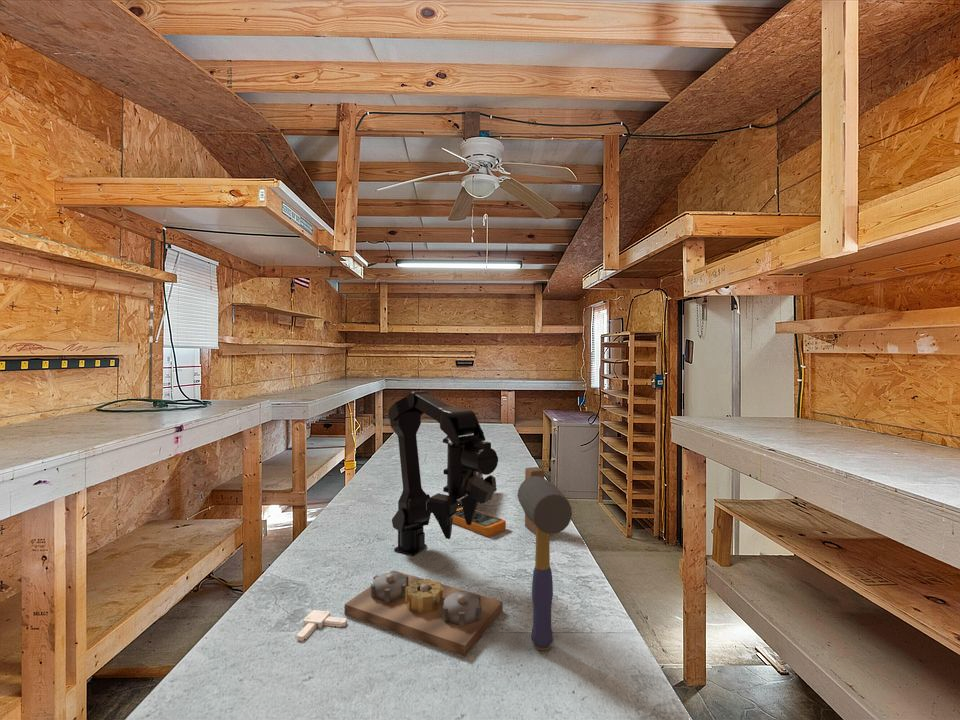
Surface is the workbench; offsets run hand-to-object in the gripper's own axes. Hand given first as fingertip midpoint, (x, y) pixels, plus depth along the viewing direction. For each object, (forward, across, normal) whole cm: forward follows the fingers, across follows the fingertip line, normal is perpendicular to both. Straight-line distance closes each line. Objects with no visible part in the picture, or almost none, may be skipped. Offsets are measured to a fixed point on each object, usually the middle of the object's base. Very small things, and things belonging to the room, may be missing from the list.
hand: (458, 531), depth 106 cm
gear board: (+12, -14, -1) cm, 18 cm away
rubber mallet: (+11, -13, -26) cm, 31 cm away
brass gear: (+10, -14, -1) cm, 17 cm away
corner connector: (+12, -29, +13) cm, 34 cm away
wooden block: (+12, +37, -5) cm, 39 cm away
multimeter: (+12, +31, +13) cm, 36 cm away
